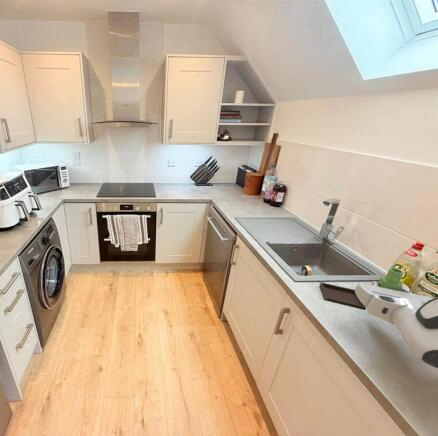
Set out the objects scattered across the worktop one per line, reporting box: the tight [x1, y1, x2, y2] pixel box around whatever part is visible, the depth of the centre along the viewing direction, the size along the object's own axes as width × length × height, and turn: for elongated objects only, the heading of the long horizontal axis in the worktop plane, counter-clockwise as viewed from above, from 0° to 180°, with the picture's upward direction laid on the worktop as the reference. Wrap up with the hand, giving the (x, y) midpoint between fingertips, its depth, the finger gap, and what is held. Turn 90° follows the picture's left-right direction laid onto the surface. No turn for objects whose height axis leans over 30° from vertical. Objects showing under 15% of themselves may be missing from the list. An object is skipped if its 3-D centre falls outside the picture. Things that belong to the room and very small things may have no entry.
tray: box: [318, 282, 367, 311], centre depth 99 cm, size 13×11×2 cm
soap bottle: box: [378, 267, 405, 291], centre depth 80 cm, size 5×5×17 cm
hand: (386, 285), depth 80 cm, fingers closed on soap bottle, 5 cm apart
